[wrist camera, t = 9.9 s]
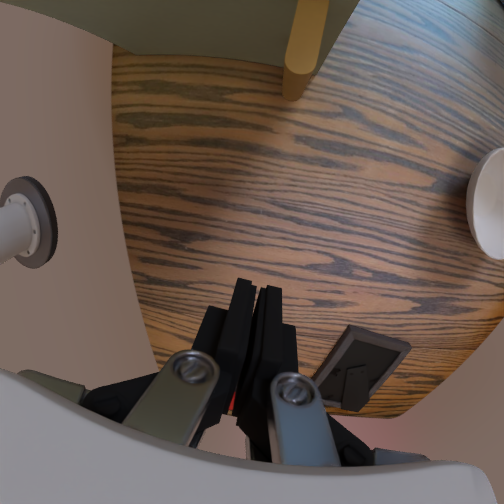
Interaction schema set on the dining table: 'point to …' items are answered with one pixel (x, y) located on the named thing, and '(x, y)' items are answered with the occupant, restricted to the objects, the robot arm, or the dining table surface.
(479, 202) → the bowl
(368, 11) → the dining table surface
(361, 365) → the picture frame
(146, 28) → the cabinet door
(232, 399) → the button
